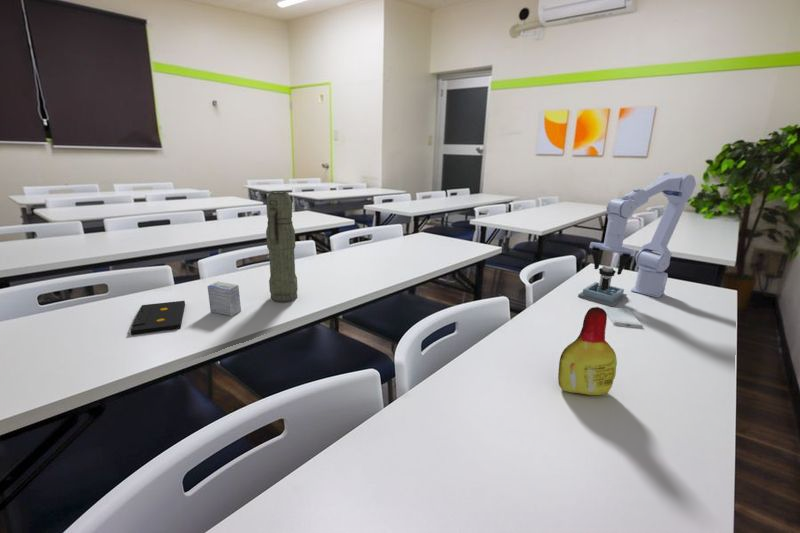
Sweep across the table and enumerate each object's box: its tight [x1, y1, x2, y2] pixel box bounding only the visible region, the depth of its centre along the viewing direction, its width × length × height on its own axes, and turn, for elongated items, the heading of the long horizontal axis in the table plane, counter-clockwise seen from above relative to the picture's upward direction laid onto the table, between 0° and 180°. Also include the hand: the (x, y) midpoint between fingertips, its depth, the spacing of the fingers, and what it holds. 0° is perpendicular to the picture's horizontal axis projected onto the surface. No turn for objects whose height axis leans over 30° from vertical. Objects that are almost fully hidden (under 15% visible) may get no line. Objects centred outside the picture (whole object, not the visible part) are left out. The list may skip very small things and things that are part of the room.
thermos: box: [265, 190, 298, 303], centre depth 128 cm, size 9×12×35 cm
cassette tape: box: [130, 300, 186, 336], centre depth 115 cm, size 18×12×2 cm, turn 24°
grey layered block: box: [207, 281, 242, 317], centre depth 120 cm, size 8×4×9 cm, turn 71°
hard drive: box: [601, 306, 644, 329], centre depth 127 cm, size 2×8×12 cm
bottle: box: [557, 306, 618, 396], centre depth 86 cm, size 12×6×20 cm, turn 86°
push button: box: [595, 265, 617, 295], centre depth 144 cm, size 7×5×10 cm
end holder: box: [577, 281, 628, 308], centre depth 144 cm, size 12×14×3 cm
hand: (607, 271), depth 142 cm, fingers open, 7 cm apart
